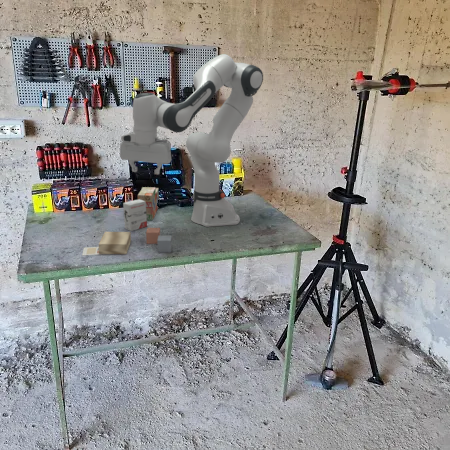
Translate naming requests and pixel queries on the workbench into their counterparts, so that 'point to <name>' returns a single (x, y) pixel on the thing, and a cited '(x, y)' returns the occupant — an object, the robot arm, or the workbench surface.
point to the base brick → (115, 243)
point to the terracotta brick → (152, 235)
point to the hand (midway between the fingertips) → (145, 172)
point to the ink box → (135, 215)
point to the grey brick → (164, 243)
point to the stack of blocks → (150, 200)
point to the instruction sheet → (91, 251)
